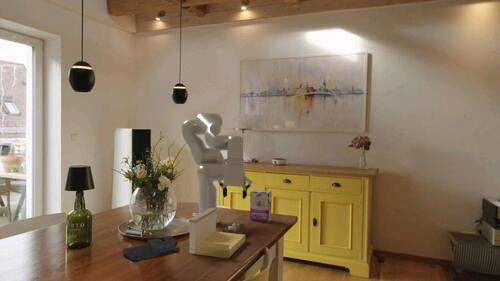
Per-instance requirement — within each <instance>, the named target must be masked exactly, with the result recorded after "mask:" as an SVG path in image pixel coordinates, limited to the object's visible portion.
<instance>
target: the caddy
mask: <svg viewBox="0 0 500 281" xmlns="http://www.w3.org/2000/svg"><path fill="white" fill-rule="evenodd" d="M222 232H224V233H233V234H242V235H244V233H245V223H241V222H240V223H239V222H231V223H230V224H228V225H227V226H225V227H224V228H223V229H222Z"/></svg>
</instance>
